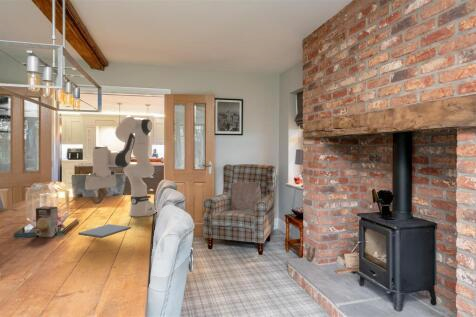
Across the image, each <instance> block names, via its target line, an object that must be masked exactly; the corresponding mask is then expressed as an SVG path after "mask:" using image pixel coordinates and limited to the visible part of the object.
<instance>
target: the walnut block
mask: <svg viewBox="0 0 476 317" xmlns="http://www.w3.org/2000/svg"><path fill="white" fill-rule="evenodd" d="M98 193H100V196H98V197H96V196H95V194H94V195H93V197H92V198H91V201H92V203H93V205H99V204H101V203H102V201H104V199H105V198H106V197H107V196H108V194H109V190H108V191H107V190H106V188H101V189H98Z"/></svg>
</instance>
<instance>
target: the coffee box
mask: <svg viewBox="0 0 476 317" xmlns="http://www.w3.org/2000/svg"><path fill="white" fill-rule="evenodd" d="M58 209H59V208H58V206H41V207H37V208H35V235H36V234H37V235H38V236H39V237H40V238H52V237H54V235H55V233H56V232H57V231H58V232H59V230H58V229H59V228H58V227H59V226H58V224H59V223H58V221H59V220H58V219H59V217H58V216H59V215H58V214H59V213H58V211H59V210H58ZM55 236H56V235H55ZM39 237H38V238H39Z"/></svg>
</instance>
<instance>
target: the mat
mask: <svg viewBox="0 0 476 317" xmlns="http://www.w3.org/2000/svg"><path fill="white" fill-rule="evenodd" d="M129 229H131V226H126V225H119V224H110V223H108V224H104V225H101V226H97V227H94V228H90V229H87V230H84V231H81V232H78V235H83V236H88V237H94V238H95V237H97V238H105V237H108V236H112V235H115V234H117V233H121V232H123V231H126V230H129Z"/></svg>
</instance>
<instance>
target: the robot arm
mask: <svg viewBox="0 0 476 317" xmlns="http://www.w3.org/2000/svg"><path fill="white" fill-rule="evenodd" d="M152 129H153V123H152V121H151V120H150V119H149V118H146V117H145V118H142V117H134V116H132V115H127V116H124V117H123V119H121V121H120V122H119V123H118V125H117V127H116V128H115V132H114V133H115V137H116V138H117V139H118V140H119V141H120V142H123V143H124V146H123V149H122V150H113V151H112V150H110V149H109V148H108V146H107V145H97V146H94V148H93V150H92V163H93V165H92V173H88V174H87V175H86V176H85V183H84V189H85V190H86V191H93V192H94V195H95V196H96V197H98V196H100V193H98V190H99V189H101V188H106V190H107V191H108V192H109V188H115V187H116V185H117V177H116V173H117V172H116V171H115V170H111V169H110V167H111V168H112V167H116V168H117V167H118V168H123V174H125V176H126V178H128V180H129V183H130V192H131V194H130V195H131V196H130V202H131V203H130V208H129V213H128V214H129V216H130V217H149V216H152V215H154V214H156V210H157V209H156V206H155V204H154V203H153V202H152V201H151V200H149V199H151V198H152V197H151V195H148V186H147V184H146V183H145V182H144V180H143V178H145V179H146V178H151V177H152V176H153V175H154V174H155V166H154V165H153V164H152V162H151V161H150V158H149V142H150V138H149V134H150V133H151V131H152ZM132 156H134V157H135V159H136V162H134V161H133V162H132V161H131V160H132Z"/></svg>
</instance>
